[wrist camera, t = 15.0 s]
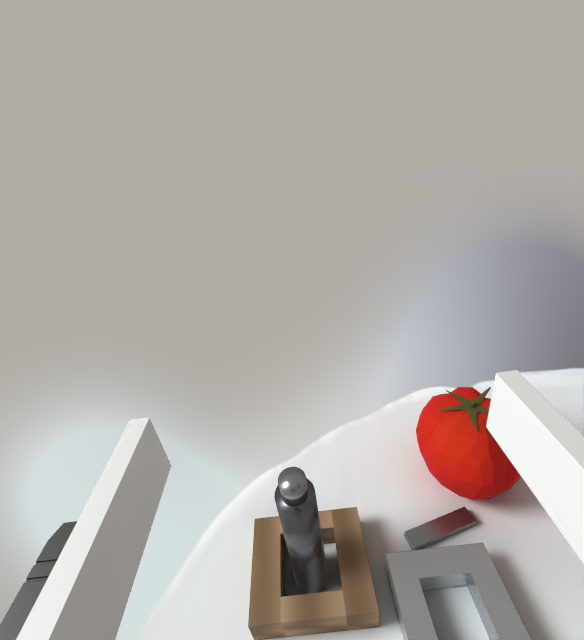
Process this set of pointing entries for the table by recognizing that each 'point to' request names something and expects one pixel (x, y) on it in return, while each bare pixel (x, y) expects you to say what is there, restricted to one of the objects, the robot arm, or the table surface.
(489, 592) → the socket collar
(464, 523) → the bar
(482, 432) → the tomato
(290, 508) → the metal bottle
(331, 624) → the frame
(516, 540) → the table surface
